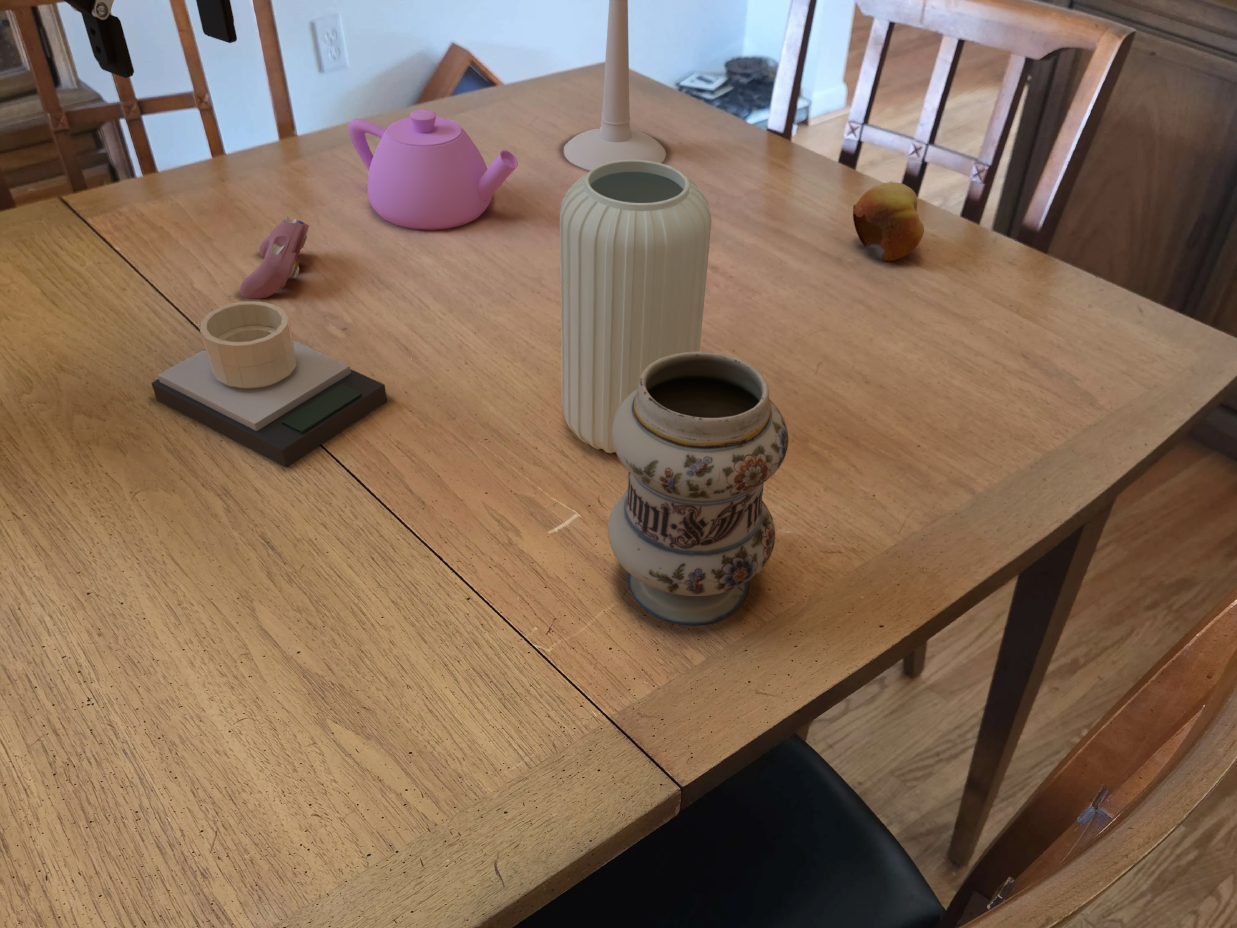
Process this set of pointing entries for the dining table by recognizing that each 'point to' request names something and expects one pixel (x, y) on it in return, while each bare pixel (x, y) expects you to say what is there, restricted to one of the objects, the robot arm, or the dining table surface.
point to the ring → (249, 344)
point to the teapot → (428, 171)
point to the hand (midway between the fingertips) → (171, 55)
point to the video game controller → (276, 260)
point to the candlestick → (614, 107)
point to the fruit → (889, 219)
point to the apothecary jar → (695, 485)
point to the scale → (274, 403)
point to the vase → (627, 284)
